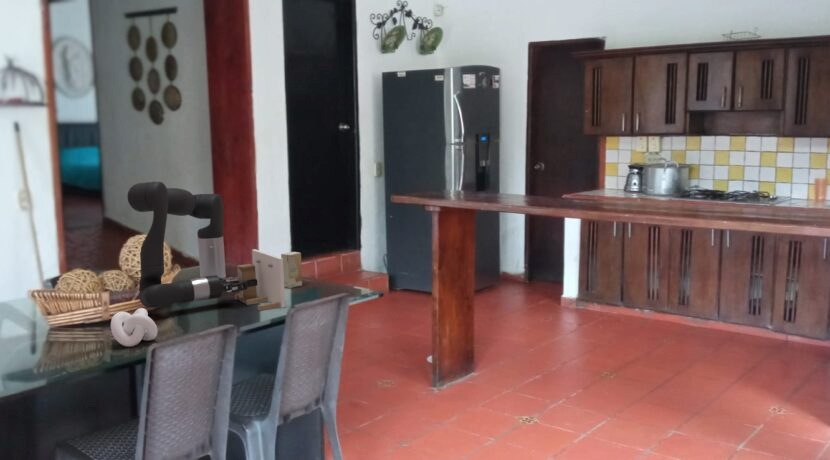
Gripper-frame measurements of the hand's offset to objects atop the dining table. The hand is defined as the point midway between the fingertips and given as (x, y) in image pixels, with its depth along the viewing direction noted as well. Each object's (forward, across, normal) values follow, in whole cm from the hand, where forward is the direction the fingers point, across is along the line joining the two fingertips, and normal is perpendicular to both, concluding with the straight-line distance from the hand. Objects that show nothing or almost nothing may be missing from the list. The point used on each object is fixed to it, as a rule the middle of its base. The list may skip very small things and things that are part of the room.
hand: (253, 280), depth 260 cm
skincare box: (+19, +10, +7) cm, 23 cm away
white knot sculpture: (-46, -24, +7) cm, 52 cm away
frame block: (-2, 0, +6) cm, 7 cm away
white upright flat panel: (-1, -5, +6) cm, 8 cm away
